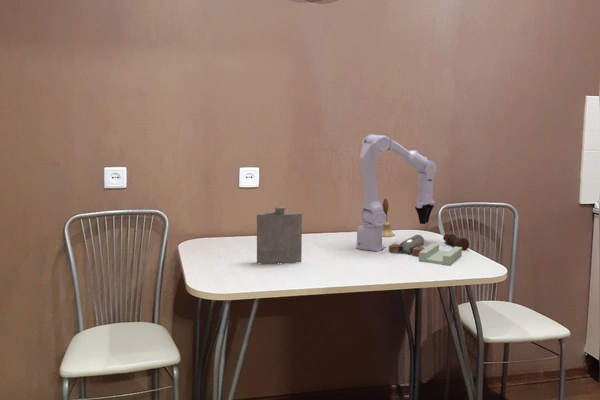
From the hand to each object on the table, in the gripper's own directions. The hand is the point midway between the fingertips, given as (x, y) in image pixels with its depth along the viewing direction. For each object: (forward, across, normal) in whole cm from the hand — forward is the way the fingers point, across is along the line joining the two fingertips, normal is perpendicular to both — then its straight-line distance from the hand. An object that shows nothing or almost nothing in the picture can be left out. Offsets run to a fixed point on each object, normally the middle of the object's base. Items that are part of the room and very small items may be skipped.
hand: (423, 223), depth 231 cm
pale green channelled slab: (+8, -19, -13) cm, 25 cm away
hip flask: (+9, -56, +34) cm, 66 cm away
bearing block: (+8, -19, 0) cm, 21 cm away
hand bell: (+9, +6, +19) cm, 22 cm away
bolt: (+9, +3, -12) cm, 15 cm away
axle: (+6, -13, 0) cm, 14 cm away
